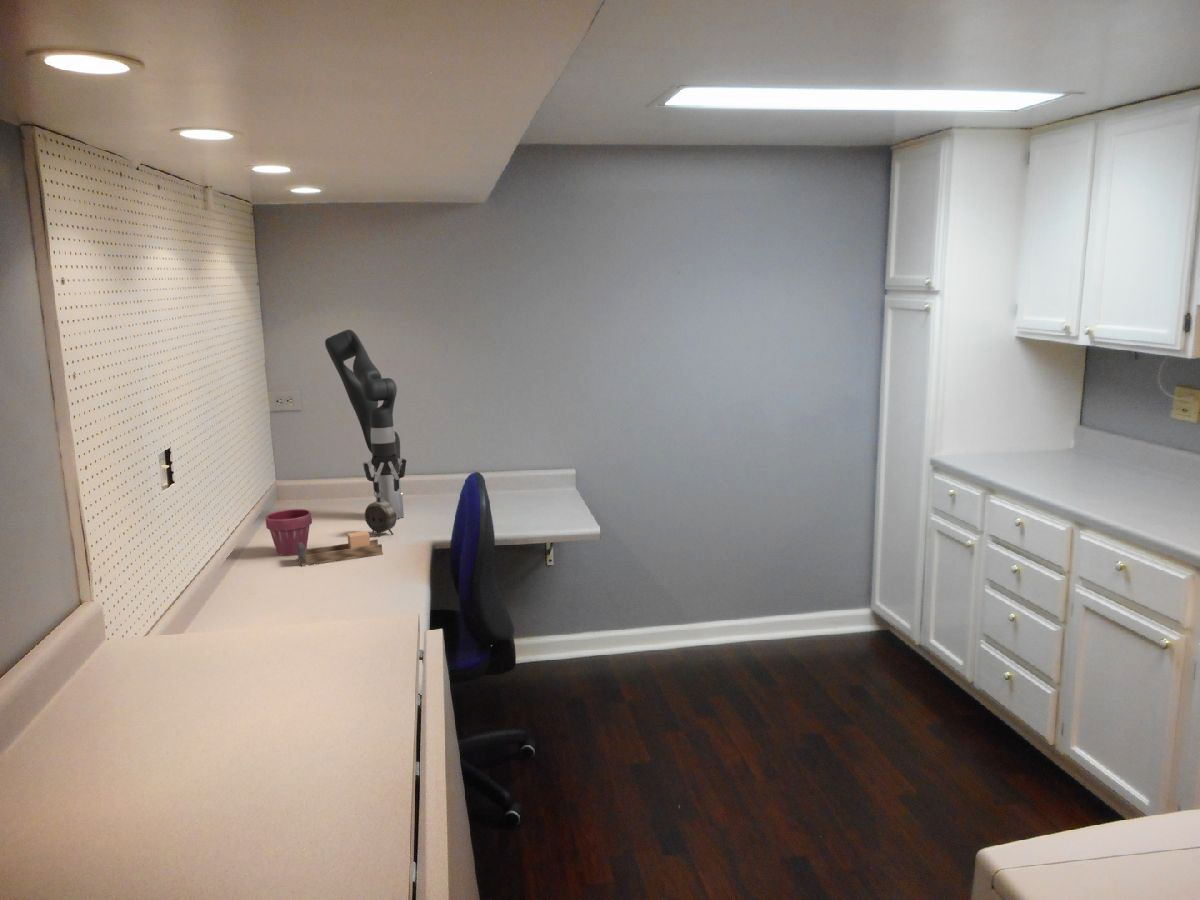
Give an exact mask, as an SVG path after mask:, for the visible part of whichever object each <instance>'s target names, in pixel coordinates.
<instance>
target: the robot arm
mask: <svg viewBox="0 0 1200 900" xmlns="http://www.w3.org/2000/svg"><path fill="white" fill-rule="evenodd" d="M324 346H325V348H326V350H327V353H328V355H329V357H330V359H331V361H332V363H333V366H335V369H336V371H337V373H338V375H339V376H340V379H341V382H342V384H343V386H344V389H345V391H346V393H347V396H348V399H349V401H350V404H351V406H352V408H353V410H354V412H355V415H356V418H357V420H358V422H359V425H360V428H361V431H362V433H363V438H364V440H365V444H366V447H367V448H368V451H369V452H370V454H371V460H370V461H368V462H367V461H366V462H363V463H362V467H363V470H364V471H363V472H364V474H365V477H366V479H367V481H368V482H372V484H373V485H372V486H373V491H374V492H375V495H376V497H377V498H378V497H380V500H385V501H387V502H389V503H390V504H391V505H392V506H393V508H394V510H395V512H396V520H399V519H401V517H403V518H404V517H405V513H404V498H403V492H402V491H401V490H402V487H401V479H402V478H405V476H406V475H405V473H406V465H407V459H405V458H401V439H400V436H399V434H398V433H397V432H396V431H395V427H394V418H393V417H394V416H393V414H394V413H393V412H394V406H395V401H396V397H397V394H398V393H397V391H398V388H397V384H396V382H395V380H393V379H392V378H390V377H383V378H382V375H381V371H379V369H378V368H377V366H375V364H374V363H373V362H372V360H371V358H370V357H369V355H368V353H367V350H366V349H365V346H364V345H363V343H362V342H361V340H360V337H359V336H358V335H357V334H356V332H355V331H353V330H352V329H345V330H343V331H341V332H338V333H336V334H333V335H332V336H329V337H328V338H325V340H324ZM354 357H355V358H354ZM351 358H354V359H353V363H352V364H353V365H352V370H351V369H350V368H349V367H348V366H347V365H346V364H345V361H347V360H349V359H351ZM380 401H383V402H382V404H381V405H380V406H379V402H380ZM372 466H373V476H372V475H371V474H372V473H371V470H370V469H371V467H372ZM379 490H381V491H382V493H381V492H380V491H379ZM382 494H383V495H382ZM381 496H382V497H381ZM376 497H375V502H376V501H378V499H377V498H376ZM398 518H399V519H398Z"/></svg>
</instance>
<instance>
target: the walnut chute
mask: <svg viewBox="0 0 1200 900" xmlns="http://www.w3.org/2000/svg"><path fill="white" fill-rule="evenodd" d="M382 545H383V544H379V541H378V539H372V540H371V539H370V546H365V547H358V548H351V549H349V546H348V543H341V544H335V545H329V546H328V545H327V546H322V547H321V546H319V547H314V548H308V549H306V550H305V547H304V545H303V543H302V542H301V543H297V546H298V554H297V555H298V557H297V558H298V559H297V560H298V561H299V563H300V565H302V566H303V567H307V566H306V565H309V566H315V565H314V564H316V565H320V563H323V564H329V563H334V562H335V561H336V562H342V560H343V561H347V560H348V561H349V560H355V558H356V559H361V558H362V559H363V558H367V557H375V556H382V555H383V554H384V552H383V546H382ZM302 566H301V567H302Z"/></svg>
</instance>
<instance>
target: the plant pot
mask: <svg viewBox="0 0 1200 900" xmlns="http://www.w3.org/2000/svg"><path fill="white" fill-rule="evenodd" d="M312 518H313V517H312V512H311V511H310V510H309V509H303V508H295V509H294V508H293V509H283V510H279V511H274V512H271V513H268V514H267V515H266V516H265V526H266V529H267V530H269V532H270V535H271V539H272V542H273V544H274V547H275V551H276V553H277V554H278V555H279V554H283V555H282V556H293V554H295V555H298V546H297V543H301V542H302V543H303V545H304V547H305V550H306V549H307V548H308V541H309V535H310V534H309V533H310V526H311V525H312V523H313V519H312Z"/></svg>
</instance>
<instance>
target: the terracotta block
mask: <svg viewBox="0 0 1200 900" xmlns="http://www.w3.org/2000/svg"><path fill="white" fill-rule="evenodd" d="M370 540H371V539H370V533H369V532H368V531H367V530H362V531H356V532H348V533H347V542H348V543H347V544H348V546H349V549H351V548H358V547H365V546H370Z"/></svg>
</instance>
